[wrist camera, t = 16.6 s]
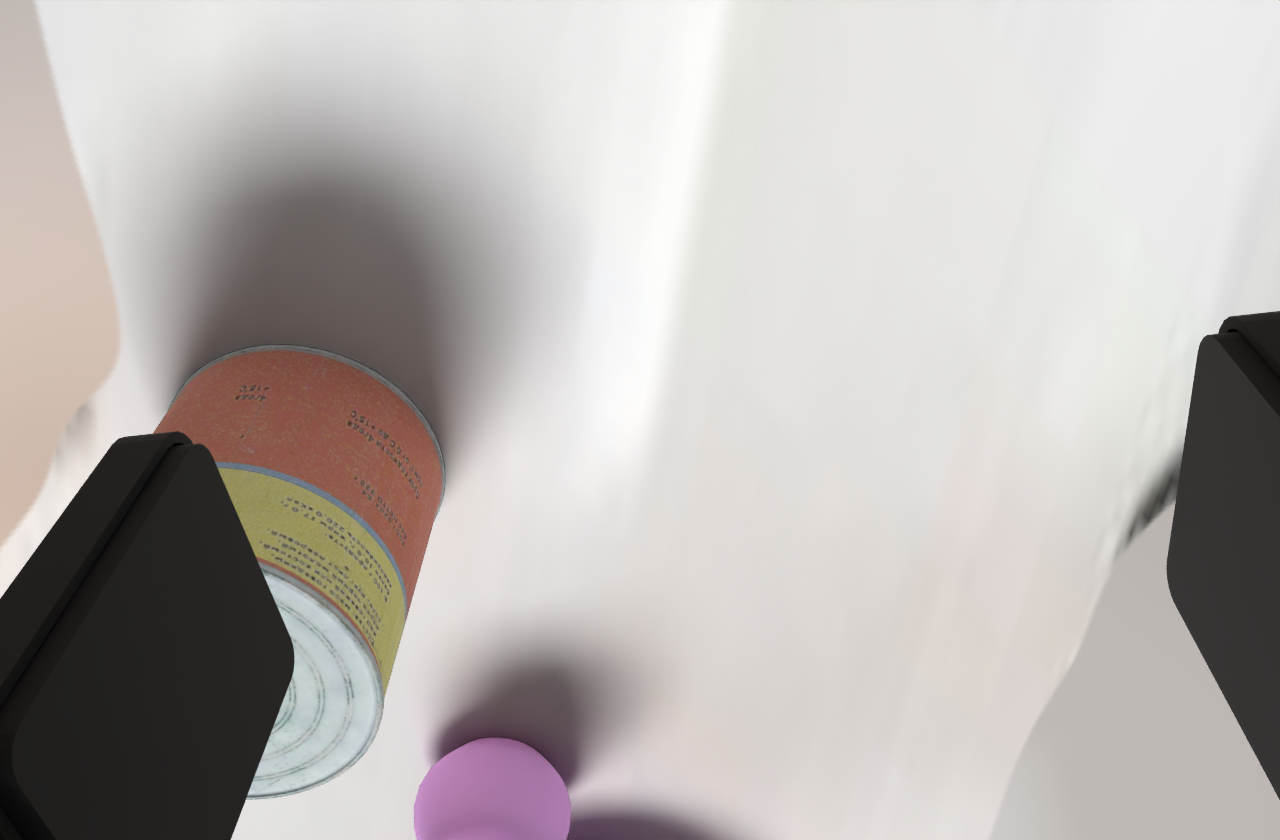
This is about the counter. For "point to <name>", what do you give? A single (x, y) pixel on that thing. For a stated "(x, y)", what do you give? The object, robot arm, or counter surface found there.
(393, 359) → the counter surface
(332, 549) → the canned food
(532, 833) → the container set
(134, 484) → the robot arm
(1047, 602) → the counter surface
